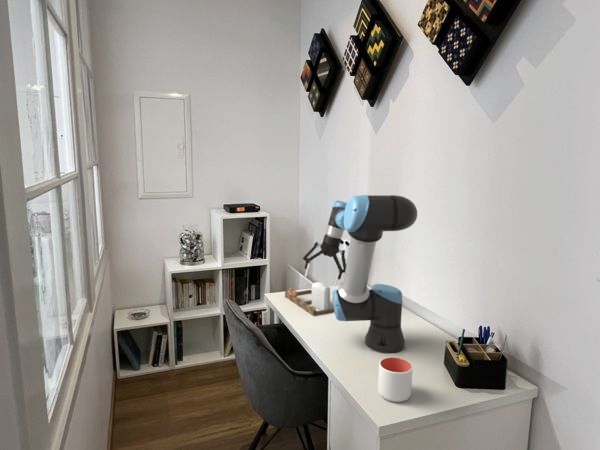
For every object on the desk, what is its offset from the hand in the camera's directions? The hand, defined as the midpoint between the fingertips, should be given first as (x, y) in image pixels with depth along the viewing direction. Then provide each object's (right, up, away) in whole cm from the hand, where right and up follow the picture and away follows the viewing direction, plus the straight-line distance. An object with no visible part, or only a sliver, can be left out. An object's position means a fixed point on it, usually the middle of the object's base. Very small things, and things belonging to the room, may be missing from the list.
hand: (320, 280), depth 192 cm
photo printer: (+1, -15, +14) cm, 20 cm away
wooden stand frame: (-3, -14, +20) cm, 24 cm away
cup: (+20, -28, -59) cm, 68 cm away
